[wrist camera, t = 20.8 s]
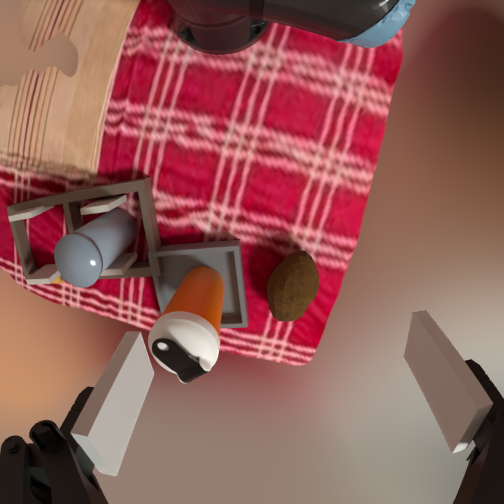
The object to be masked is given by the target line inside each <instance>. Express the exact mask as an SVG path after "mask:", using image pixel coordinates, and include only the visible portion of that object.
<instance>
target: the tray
mask: <svg viewBox="0 0 504 504" xmlns="http://www.w3.org/2000/svg"><path fill="white" fill-rule="evenodd" d="M152 254H153V255H152ZM152 256H153V257H155V256H156V257H161V256H162V260H163V265H164V272H163V273H162V275H161V276H157V275H156V272H155V271H156V270H155V269H154V268H155V265H154V263H153V262H154V260H153V257H152ZM150 257H151V258H152V259H151V258H150ZM148 258H149V263H150V267H152V268H151V271H152V274H153V275H155V276H153V275H152V277H153V281H154V285H155V290H156V294H157V298H158V302H159V306H160V310H161V314H162V313H163V311H164V310H165V308H166V306H167V305H168V303H169V301H170V300H171V298H172V297H173V295H174V293H175V292H176V290H177V288H178V287H179V285H180V283H181V282H182V280H183V279H184V277H185V275H186V274H187V273H188V272H189V271H190V270H191V269H193V268H196V267H201V266H202V267H209V268H212V269H214V270H215V271H217V272H218V273H219V274H220V275H221V277H222V278H223V281H224V284H225V291H224V299H223V308H222V316H221V325H220V328H239V327H248V310H247V301H246V292H245V283H244V274H243V264H242V255H241V246H240V239H238V240H225V241H212V242H199V243H187V244H175V245H163V246H161V247H160V248H159V249H158V250H157V252H156V254H155V252H153V253H152V252H151V254H150V253H149V252H148ZM151 262H152V264H151ZM153 267H154V268H153ZM153 269H154V270H155V271H154V270H153ZM154 273H155V274H154Z"/></svg>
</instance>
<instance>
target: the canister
mask: <svg viewBox="0 0 504 504" xmlns="http://www.w3.org/2000/svg"><path fill="white" fill-rule="evenodd" d="M136 237H137V224H136V221H135V219H134V218H133V216H132V215H131V214H130V213H129V212H127V211H126V210H124V209H120V208H114V209H112V210H110V211H107V212H106V213H104V214H102V215H101V216H99V217H97V218H96V219H94V220H92V221H91V222H89V223H87V224H86V225H84V226H83V227H81V228H79V229H78V230H76V231H75V232H73V233H69V234H67V235H66V236H64V237H62V238H61V239H60V240H59V241H58V243H57V244H56V247H55V251H54V259H55V264H56V267H57V269H58V271H59V273H60V274H61V276H62V277H63V278H64V279H65V280H66V281H67V282H69V283H70V284H72V285H74V286H77V287H88V286H91V285H92V284H94V283H95V282H96V281H97V280H98V278H99V277H100V275H101V273H102V272H103V271H104V270H105V269H106V268H107V267H108V266H109V265H110V264H111V263H112V262H114V261H115V260H116V259H117V258H118V257H119V256H120V255H121V254H122V253H123V252H124V251H125V250H126V249H127V248H128V247H129V246H130V245H131V244H132V243H133V242H134V241H135V239H136Z"/></svg>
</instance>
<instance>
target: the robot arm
mask: <svg viewBox="0 0 504 504" xmlns="http://www.w3.org/2000/svg"><path fill="white" fill-rule="evenodd" d="M166 1H167V2H168V3H169V4H170V6H171V7H172V8H171V20H172V24H173V27H174V29H175V31H176V32H177V34H178V35H179V36H180V38H181V39H182V40H183V41H184V42H185V43H186V44H187V45H189V46H190V47H192V48H194V49H196V50H198V51H200V52H203V53H207V54H215V55H224V54H231V53H236V52H239V51H242V50H244V49H246V48H248V47H250V46H252V45H253V44H255V43H256V42H257V41H259V40H260V39H261V38H262V37H263V36H264V34H265V33H266V32H267V30H268V28H269V26H270V24H271V22H275V23H279V24H283V25H287V26H291V27H295V28H298V29H302V30H306V31H309V32H313V33H316V34H319V35H322V36H326V37H329V38H332V39H333V40H335V41H337V42H338V41H339V42H347V43H350V44H353V45H357V46H360V47H363V48H374V47H378V46H380V45H382V44H384V43H386V42H387V41H389V40H390V39H391V38H392V37H393V36H394V35H395V34H396V33H397V32H398V31H399V30H400V29H401V27H402V26H403V25H404V23H405V22H406V20H407V18H408V17H409V15H410V13H409V9H410V8H411V7H412V6H414V4H415V1H416V0H166ZM404 358H405V359H406V361H407V363H408V365H409V367H410V369H411V371H412V372H413V374H414V376H415V378H416V380H417V382H418V384H419V386H420V388H421V390H422V392H423V394H424V396H425V398H426V400H427V402H428V404H429V406H430V408H431V410H432V412H433V414H434V416H435V418H436V420H437V422H438V424H439V426H440V428H441V430H442V433H443V434H444V437H445V439H446V441H447V443H448V446H449V448H450V450H451V452H452V453H455V452H458V451H461V450H463V449H466V448H468V446H469V445H470V443H471V441H472V440H473V441H474V443H475V445H476V446H475V447H474V449H473V450H472V452H471V454H470V455H469V457H468V458H467V461H468V460H469V459H470V461H469V464H468V467H467V470H466V473H465V475H464V478H463V480H462V483H461V486H460V488H459V491H458V493H457V496H456V498H455V500H454V502H453V504H504V398H503V397H502V395H501V394H500V393H499V391H498V390H497V388H496V387H495V386H494V384H493V383H492V381H490V378H489V377H488V376H487V374H485V371H484V370H483V369H482V368H481V366H480V365H479V364H477V363H476V362H474V361H473V360H471V359H470V360H466V361H464V360H463V359H462V357H461V356H460V355H459V353H458V352H457V350H456V349H455V348H454V346H453V345H452V344H451V342H450V341H449V339H448V338H447V337H446V335H445V334H444V333H443V332H442V331H441V329H440V328H439V326H438V325H437V324H436V322H435V321H434V320H433V319H432V317H431V316H430V315H429V314H428V313H427V311H426V310H425V311H418V312H413V313H412V319H411V324H410V330H409V335H408V340H407V345H406V349H405V354H404ZM153 376H154V371H153V368H152V365H151V362H150V359H149V356H148V353H147V350H146V347H145V344H144V341H143V338H142V335H141V332H126V334H125V336H124V337H123V339H122V340H121V342H120V344H119V345H118V348H117V349H116V351H115V353H114V354H113V356H112V358H111V359H110V361H109V363H108V364H107V366H106V368H105V370H104V371H103V373H102V375H101V377H100V379H99V381H98V382H97V384H96V386H95V387H87V388H85V389H84V390H83V391H82V392H81V393H80V394H79V395H78V397H77V399H76V401H75V404H73V406H72V407H71V410H70V411H69V413H68V415H67V417H66V418H65V420H64V422H63V424H62V426H61V427H60V429H59V428H58V427H57V425H56V424H55V423H54V422H52V421H50V420H43V421H40V422H38V423H36V424H35V425H34V426H33V427H32V428H31V430H30V432H29V437H30V439H31V440H32V441H33V444H32V443H30V444H27V443H26V442H25V441H24V440H23V438H22V437H20V436H11V437H8V438H7V439H6V440H5V441H4V442H3V444H2V446H1V452H0V504H108V502H107V500H106V498H105V496H104V494H103V492H102V490H101V488H100V486H99V484H98V482H97V479H96V477H95V476H94V474H93V473H92V471H93V468H94V466H96V468H97V469H98V470H99V471H100V473H104V474H108V475H113V476H117V473H118V471H119V468H120V465H121V462H122V460H123V457H124V454H125V451H126V448H127V445H128V442H129V440H130V437H131V434H132V432H133V429H134V426H135V423H136V421H137V418H138V415H139V413H140V410H141V407H142V405H143V402H144V399H145V397H146V394H147V391H148V389H149V387H150V384H151V381H152V379H153Z"/></svg>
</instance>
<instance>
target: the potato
mask: <svg viewBox="0 0 504 504" xmlns="http://www.w3.org/2000/svg"><path fill="white" fill-rule="evenodd" d="M318 285H319V276H318V270H317V268H316V265H315V263H314V261H313V259H312V257H311V256H310V255H309V254H308V253H307V252H306V251H296V252H294V253H292V254H290V255H289V256H287V257H286V258H285V259H284V260H283V261H282V262H281V263H280V264H279V265H278V266H277V267H276V268H275V270H274V271H273V272H272V274H271V275H270V277H269V280H268V283H267V299H268V304H269V309H270V311H271V313H272V315H273V317H274V318H275V319H277V320H278V321H285V322H287V321H295V320H296V319H298V318H300V317H302V315H303V314H304V312H305V311H306V309H307V307H308V305H309V304H310V303H311V302H312V300H313V299H314V298H315V296H316V294H317V292H318Z"/></svg>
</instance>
